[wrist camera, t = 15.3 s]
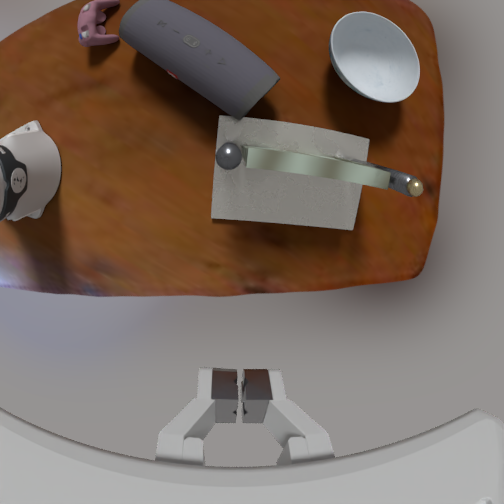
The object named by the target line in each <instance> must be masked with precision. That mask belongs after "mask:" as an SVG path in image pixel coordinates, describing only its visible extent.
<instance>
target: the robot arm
mask: <svg viewBox="0 0 504 504" xmlns="http://www.w3.org/2000/svg"><path fill="white" fill-rule="evenodd" d="M29 128H30V130H29ZM60 176H61V161H60V156H59V152H58V149H57V147H56V145H55V143H54V142H53V140H52V139H51V138H50V137H49V136H48V135H46V134H45V133H44V132H43V131H42V128H41V126H40V124H39V122H38V121H31V122H30V123H28V124H26V125H24V126H22V127H20V128H18V129H17V130H15V131H13V132H11V133H10V134H8V135H6V136H5V137H3V138H1V139H0V222H1V221H2V220H4V219H5V218H7V220H13V221H17V220H19V219H21V218H23V217H25V216H28V217H31V218H35V219H37V218H39V217H41V215H42V213H43V211H44V208H45V206H46V204H47V203H48V202H49V201H50V200H51V199H52V198H53V196H54V195H55V193H56V191H57V188H58V186H59V182H60ZM242 377H243V381H242V382H241V402H242V403H243V404H242V421H243V423H263V425H264V426H265V427H266V428H267V430H268V431H269V432H270V433H271V435H272V436H273V437H274V438H275V439H276V441H277V442H278V443H279V444H280V445H281V446H282V447H283V451H282V453H281V455H280V457H279V459H278V460H277V465H276V466H259V467H214V466H205V457H204V446H203V439H204V438H205V437H206V435H207V434H208V433H209V431H210V430H211V429H212V427H213V426H214V425H215V423H235V422H236V416H237V414H236V413H237V412H236V410H237V408H238V386H237V370H236V369H221V368H213V370H212V368H207V367H200V369H199V378H198V390H197V398H193V399H192V400H191V401H190V402H189V403H188V404H187V405H186V406H185V407H184V408H183V409H182V410H181V411H180V412H179V414H177V416H176V417H175V418H174V419H173V420H172V421H171V422H170V423H169V424H168V425H167V426H166V427H165V428H164V429H163V430H162V431H161V432H159V438H158V444H157V451H156V459H155V461H154V460H149V459H143V458H138V457H133V456H128V455H123V454H119V453H115V452H111V451H107V450H103V449H99V448H96V447H93V446H89V445H86V444H83V443H80V442H77V441H74V440H71V439H68V438H66V437H63V436H60V435H57V434H55V433H52V432H50V431H47V430H45V429H43V428H40V427H38V426H36V425H34V424H31V423H29V422H27V421H25V420H23V419H21V418H19V417H17V416H15V415H13V414H11V413H9V412H7V411H5V410H4V409H2V408H0V504H504V423H503V422H502V421H501V420H500V419H499V418H498V417H496V416H494V415H492V414H490V413H488V412H486V411H484V410H481V409H473V410H471V411H469V412H467V413H465V414H464V415H461V416H459V417H457V418H455V419H453V420H451V421H449V422H447V423H445V424H442V425H440V426H438V427H435V428H433V429H430V430H428V431H426V432H423V433H420V434H418V435H415V436H412V437H410V438H407V439H404V440H401V441H398V442H395V443H392V444H389V445H385V446H382V447H378V448H375V449H371V450H367V451H363V452H359V453H355V454H351V455H346V456H341V457H336V458H335V456H334V452H333V449H332V445H331V442H330V439H329V435H328V432H327V431H325V430H324V429H323V428H322V427H321V426H320V425H318V424H317V423H316V422H315V421H314V420H313V419H312V418H310V417H309V416H308V415H307V414H306V413H305V412H304V411H303V410H301V409H300V408H299V407H298V406H297V405H296V404H295V403H294V402H293V401H291V400H290V399H287V398H286V393H285V388H284V383H283V379H282V374H281V371H280V369H268V370H267V369H244V370H243V374H242Z"/></svg>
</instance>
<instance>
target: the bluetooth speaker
mask: <svg viewBox="0 0 504 504" xmlns="http://www.w3.org/2000/svg"><path fill="white" fill-rule="evenodd" d="M119 35H120V37H121V38H122V39H123V40H124V41H125V42H126V43H128V44H129V45H130V46H132V47H133V48H134V49H136V50H137V51H139V52H140V53H142V54H143V55H144V56H146V57H147V58H149V59H150V60H152V61H153V62H154V63H156V64H157V65H159V66H160V67H162V68H163V69H164V70H166V71H167V72H168V73H169V74H170V75H172V76H173V77H174V78H176V79H178V80H180V81H182V82H183V83H185V84H186V85H187V86H189V87H190V88H192V89H193V90H195V91H196V92H198V93H199V94H200V95H202V96H203V97H205V98H206V99H208V100H209V101H211V102H212V103H213V104H215V105H216V106H218V107H219V108H221V109H222V110H223V111H225V112H226V113H228V114H229V115H231V116H233V117H234V118H236V119H238V120H239V121H240V120H241V119H242V118H243V117H244V116H245V115H246V114H247V113H248V112H249V111H250V110H251V108H252V107H253V106H254V105H255V104H256V103H257V102H258V100H259V99H260V98H261V97H263V96H264V95H265V94H266V93H267V92H268V91H269V90H270V89H271V88H272V87H273V86H274V85H275V84H276V83H277V82H278V81H279V80H280V77H279V76H278V75H277V74H276V73H275V72H274V71H273V70H272V69H271V68H270V67H269V66H268V65H267V64H266V63H265V62H264V61H262V60H261V59H260V58H259V57H258V56H256V55H255V54H254V53H253V52H252V51H250V50H249V49H248V48H247V47H245V46H244V45H243V44H241V43H240V42H239V41H237V40H236V39H235V38H233V37H232V36H231V35H229V34H228V33H226V32H225V31H223V30H222V29H220V28H219V27H217V26H216V25H214V24H212V23H211V22H209V21H207V20H206V19H204V18H202V17H201V16H199V15H197V14H195V13H193V12H191V11H189V10H188V9H186V8H184V7H181V6H179V5H177V4H175V3H173V2H171V1H169V0H139V1H138V2H137V3H135V4H134V5H133V6H132V7H131V8H130V9H129V10H128V11H127V12H126V14H125V15H124V16H123V18H122V20H121V23H120V28H119Z"/></svg>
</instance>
